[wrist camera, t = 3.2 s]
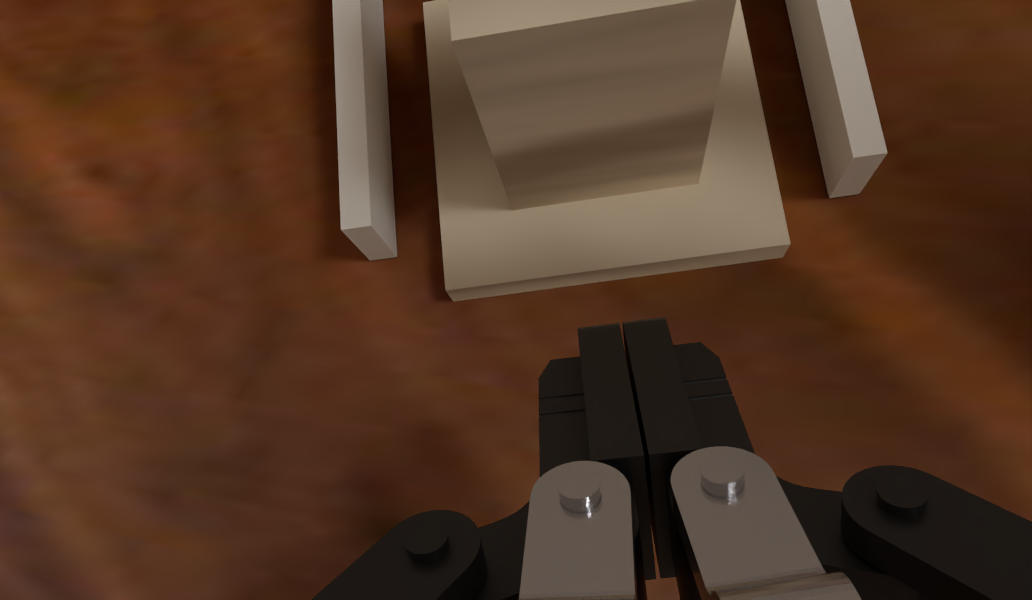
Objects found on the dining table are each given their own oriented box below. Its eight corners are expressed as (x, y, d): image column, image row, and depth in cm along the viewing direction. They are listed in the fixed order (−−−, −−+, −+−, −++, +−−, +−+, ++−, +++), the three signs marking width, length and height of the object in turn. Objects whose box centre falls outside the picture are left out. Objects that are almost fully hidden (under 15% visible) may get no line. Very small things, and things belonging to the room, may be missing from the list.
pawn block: (782, 258, 22) (884, 77, 13) (454, 302, 23) (347, 160, 14) (724, -23, 25) (778, -332, 16) (432, 26, 25) (329, -241, 17)
